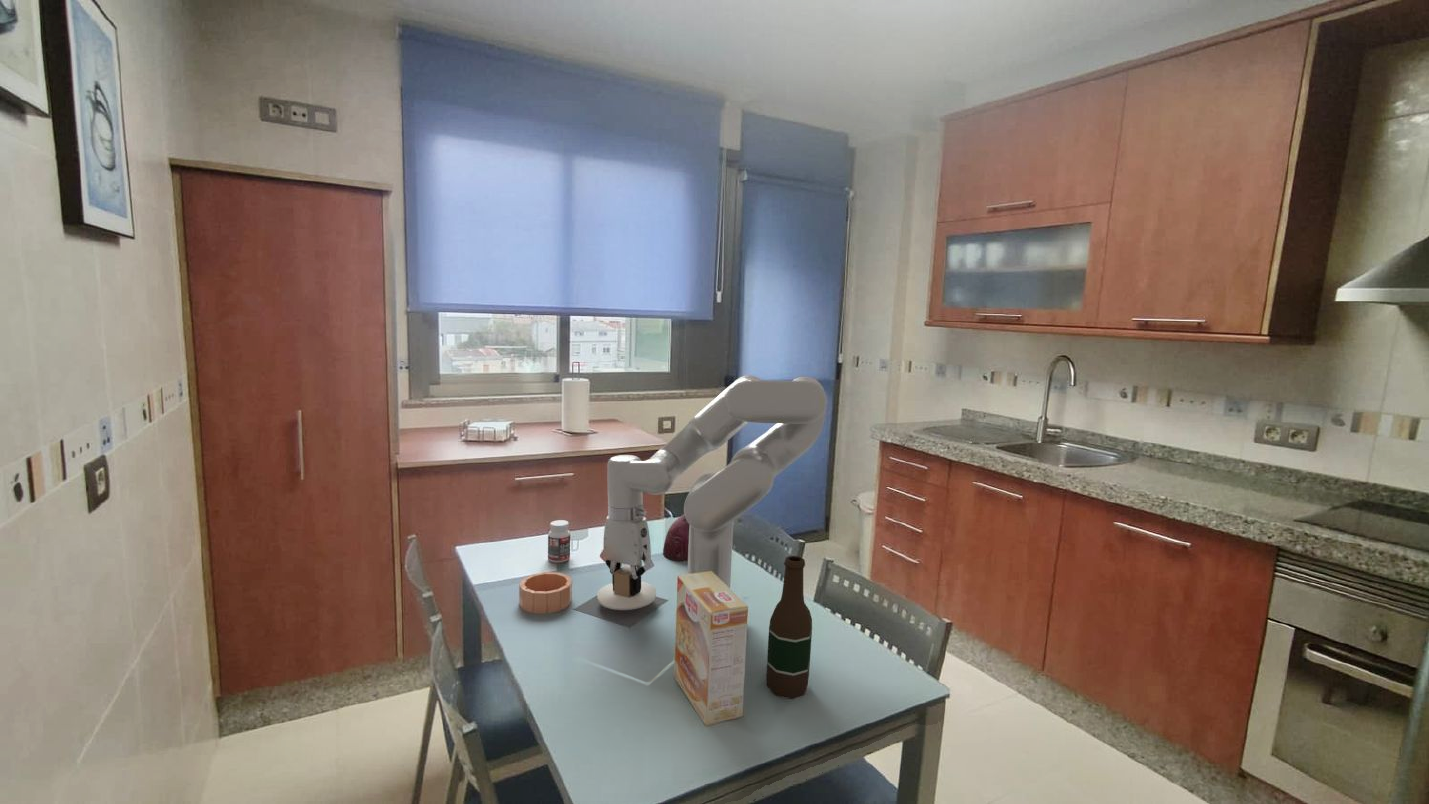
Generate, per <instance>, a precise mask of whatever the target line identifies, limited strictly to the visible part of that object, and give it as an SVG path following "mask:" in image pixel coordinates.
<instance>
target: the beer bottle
mask: <svg viewBox="0 0 1429 804" xmlns="http://www.w3.org/2000/svg"><path fill="white" fill-rule="evenodd" d="M783 565H784V566H785V568H784V577H783V585H782V593H781V598H780V600H779V602H777V603H776V605H775V607H774V609H773V611H772V614H771V616H770V620H769V627H768V638H767V639H768V640H767V641H768V642H767V643H768V644H767V656H766V658H767V659H766V675H765V676H766V677H765V678H766V679H765V681H766V683H765V684H766V687H767V688H768V689H769V691H771V692H772V693H773V694H774V695H775V696H776V697H781V698H785V699H786V698H787V699H795V698H799V697H803V696H805V695H806V692H807V689H808V684H809V680H810V679H809V678H810V664H811V663H810V662H811V654H812V652H811V650H812V637H813V636H812V635H813V618H812V615H811V611H810V609H809V607H808V605H806V603H805V597H804V568H805V566H806V560H805V559H804V558H803V557H800V556H798V555H791V556H786V557H785V561H784V563H783Z"/></svg>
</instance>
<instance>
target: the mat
mask: <svg viewBox="0 0 1429 804" xmlns="http://www.w3.org/2000/svg"><path fill="white" fill-rule="evenodd" d="M668 601H669V599H665V598H662V597H659V596H656V598H655V600H654V601H653V602H652V603H650V604H649V605H647V606H644V607H641V608H638V609H632V610H614V609H609V608H606V607H604V606H602V605H600V604H599V602H598V600H597V595H595V596H593V597H592V598H590V599H588V600H586V601H585V602H583V603H582V604H580V605H578V606H576V607H575V608H573V610H574V611H577V612H579V613H583V614H586V615H589V616H592V617H596V618H598V619H601V620H603V621H604V620H605V621H608V622H611V623H613V624H617V625H620V626H623V627H626V628H629V629H630V628H631V627H633V626H634V625H637V623H639V622H640V621H642V620H643V619H644V618H646V617H647V616H649V615H650V614H651V613H653V612H654V611H655V610H657V609H658V608H659V607H662V605H664V604H665V603H667V602H668Z"/></svg>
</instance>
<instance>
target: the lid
mask: <svg viewBox="0 0 1429 804" xmlns="http://www.w3.org/2000/svg"><path fill="white" fill-rule="evenodd" d="M631 578H632V573H631V568H630V566H626V565H625V566H622V567H621V569H619V570H617V571H615V572H614V591H613V583H608V584H606V585H604V586H602V587H600V588H599V590H598V591H597V594H596V596H597V600H598V602H599V604H600V605H602V606H604V607H606V608H609V609H614V610H632V609H638V608H641V607H644V606H647V605H649V604H650V603H652V602H653V601H654V600H655V598H656V597H657V590H656V587H655V586H654V585H653V584H651V583H648V582H645V581H642V580H641V591H640V592H639V593H637V594H636V595H634V596H631V595H630V579H631Z"/></svg>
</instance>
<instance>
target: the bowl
mask: <svg viewBox="0 0 1429 804" xmlns="http://www.w3.org/2000/svg"><path fill="white" fill-rule="evenodd" d="M518 585H519V587H518V594H519V595H518V598H519V599H518V601H519V603H518V604H519V606H520V607H521V609H522V610H523V611H525V612H528V613H531V614H542V615H543V614H551V613H555V612H561V611H563V610H564V609H566V608H567V607H569V606H570V605H571V604H572V603H571V602H572V600H573V596H572V595H573V579H572V578H571V577H570V576H569V575H568V574H564V573H561V572H558V571H557V572H555V571H554V572H553V571H552V572H549V571H547V572H546V571H544V572H539V573H533V574H531V575H529V576H527V577H524V578H522V580H521V581H520V583H519V584H518Z"/></svg>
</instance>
